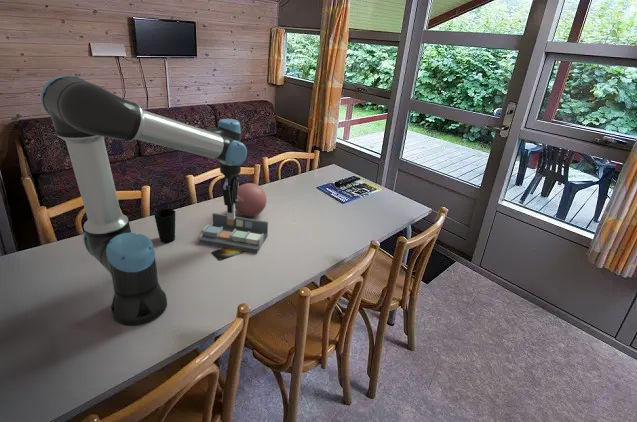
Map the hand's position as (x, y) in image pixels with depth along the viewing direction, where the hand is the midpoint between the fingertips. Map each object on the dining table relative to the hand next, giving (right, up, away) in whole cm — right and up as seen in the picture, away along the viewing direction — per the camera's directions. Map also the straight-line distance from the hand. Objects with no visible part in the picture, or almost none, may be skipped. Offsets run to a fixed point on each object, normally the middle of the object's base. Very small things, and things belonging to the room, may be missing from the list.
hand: (231, 218), depth 144 cm
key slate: (-9, -6, +4) cm, 12 cm away
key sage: (+3, -8, +3) cm, 9 cm away
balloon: (+1, +1, +25) cm, 25 cm away
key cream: (+8, -9, +3) cm, 13 cm away
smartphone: (+1, -13, -1) cm, 13 cm away
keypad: (0, -9, +6) cm, 11 cm away
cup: (-26, -9, +2) cm, 27 cm away
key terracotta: (-3, -8, +4) cm, 10 cm away
